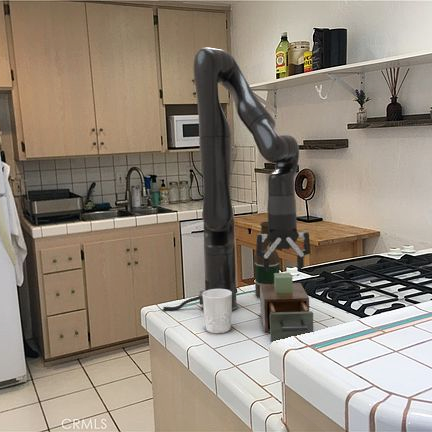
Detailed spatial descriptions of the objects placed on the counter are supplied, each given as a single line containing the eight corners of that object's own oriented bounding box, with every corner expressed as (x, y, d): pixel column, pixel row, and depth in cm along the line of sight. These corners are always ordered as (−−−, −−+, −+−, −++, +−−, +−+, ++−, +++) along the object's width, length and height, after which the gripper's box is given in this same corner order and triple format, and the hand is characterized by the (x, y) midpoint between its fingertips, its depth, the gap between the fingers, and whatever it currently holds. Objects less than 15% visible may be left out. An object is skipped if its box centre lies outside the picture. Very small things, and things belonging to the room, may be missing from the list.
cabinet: (309, 331, 131) (309, 298, 130) (265, 332, 132) (264, 299, 130) (300, 313, 145) (300, 282, 143) (260, 314, 145) (259, 284, 144)
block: (276, 293, 135) (275, 277, 134) (274, 288, 139) (273, 273, 138) (292, 293, 134) (292, 277, 134) (290, 288, 139) (290, 272, 138)
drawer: (317, 349, 118) (317, 320, 117) (273, 351, 118) (272, 321, 117) (304, 322, 135) (304, 296, 134) (265, 323, 135) (265, 297, 134)
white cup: (199, 326, 138) (197, 291, 136) (225, 321, 141) (224, 287, 139) (210, 336, 130) (209, 299, 129) (238, 330, 134) (236, 294, 132)
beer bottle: (284, 295, 161) (283, 222, 157) (266, 301, 157) (265, 225, 153) (268, 290, 167) (267, 219, 163) (250, 295, 163) (248, 222, 159)
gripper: (256, 214, 130) (258, 275, 132) (311, 212, 130) (312, 273, 132) (254, 210, 137) (256, 268, 140) (306, 208, 137) (307, 265, 139)
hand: (283, 270), depth 136 cm, fingers open, 8 cm apart
